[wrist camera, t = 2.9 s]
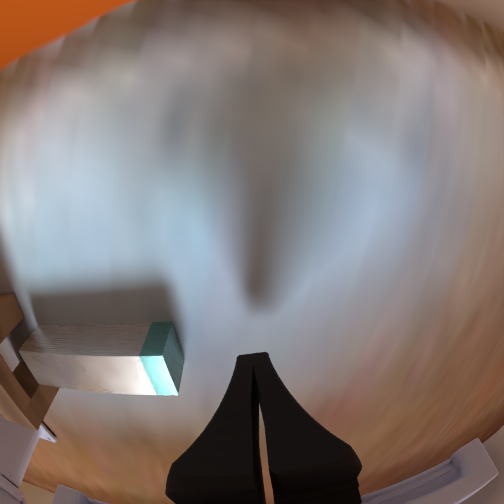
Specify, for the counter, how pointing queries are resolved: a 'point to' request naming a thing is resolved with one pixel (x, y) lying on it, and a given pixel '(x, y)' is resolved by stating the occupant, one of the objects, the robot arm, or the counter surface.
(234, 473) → the robot arm
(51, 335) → the white teal bar
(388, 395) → the counter surface
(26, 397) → the angled brown block
